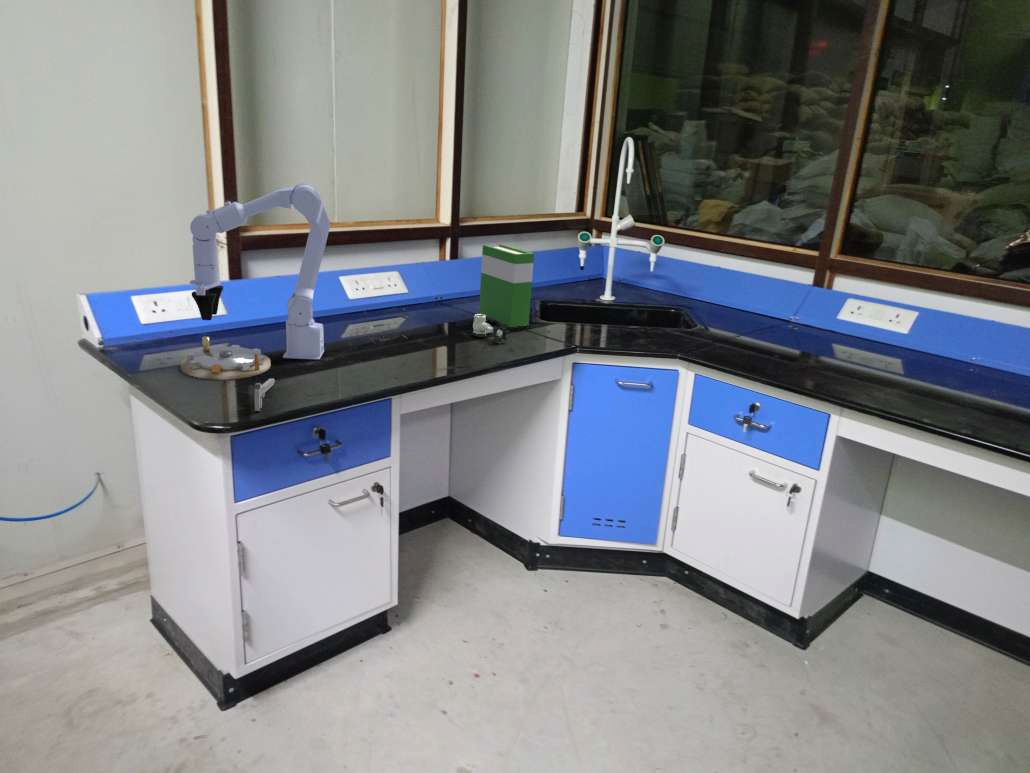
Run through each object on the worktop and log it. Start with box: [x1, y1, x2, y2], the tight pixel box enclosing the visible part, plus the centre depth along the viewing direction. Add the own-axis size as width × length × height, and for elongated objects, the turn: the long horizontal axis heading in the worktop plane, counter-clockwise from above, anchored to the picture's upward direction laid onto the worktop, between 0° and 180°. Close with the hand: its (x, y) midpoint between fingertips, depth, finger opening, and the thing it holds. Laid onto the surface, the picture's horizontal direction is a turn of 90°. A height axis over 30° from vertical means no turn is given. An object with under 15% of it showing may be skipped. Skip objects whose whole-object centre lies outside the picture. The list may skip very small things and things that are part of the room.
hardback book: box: [478, 243, 535, 327], centre depth 248 cm, size 18×7×24 cm, turn 37°
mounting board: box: [180, 353, 272, 381], centre depth 190 cm, size 21×21×5 cm
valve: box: [472, 313, 510, 343], centre depth 230 cm, size 7×7×12 cm
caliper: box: [253, 378, 276, 412], centre depth 172 cm, size 20×1×6 cm, turn 8°
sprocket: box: [186, 335, 265, 373], centre depth 189 cm, size 18×18×5 cm
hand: (209, 317), depth 193 cm, fingers open, 5 cm apart
